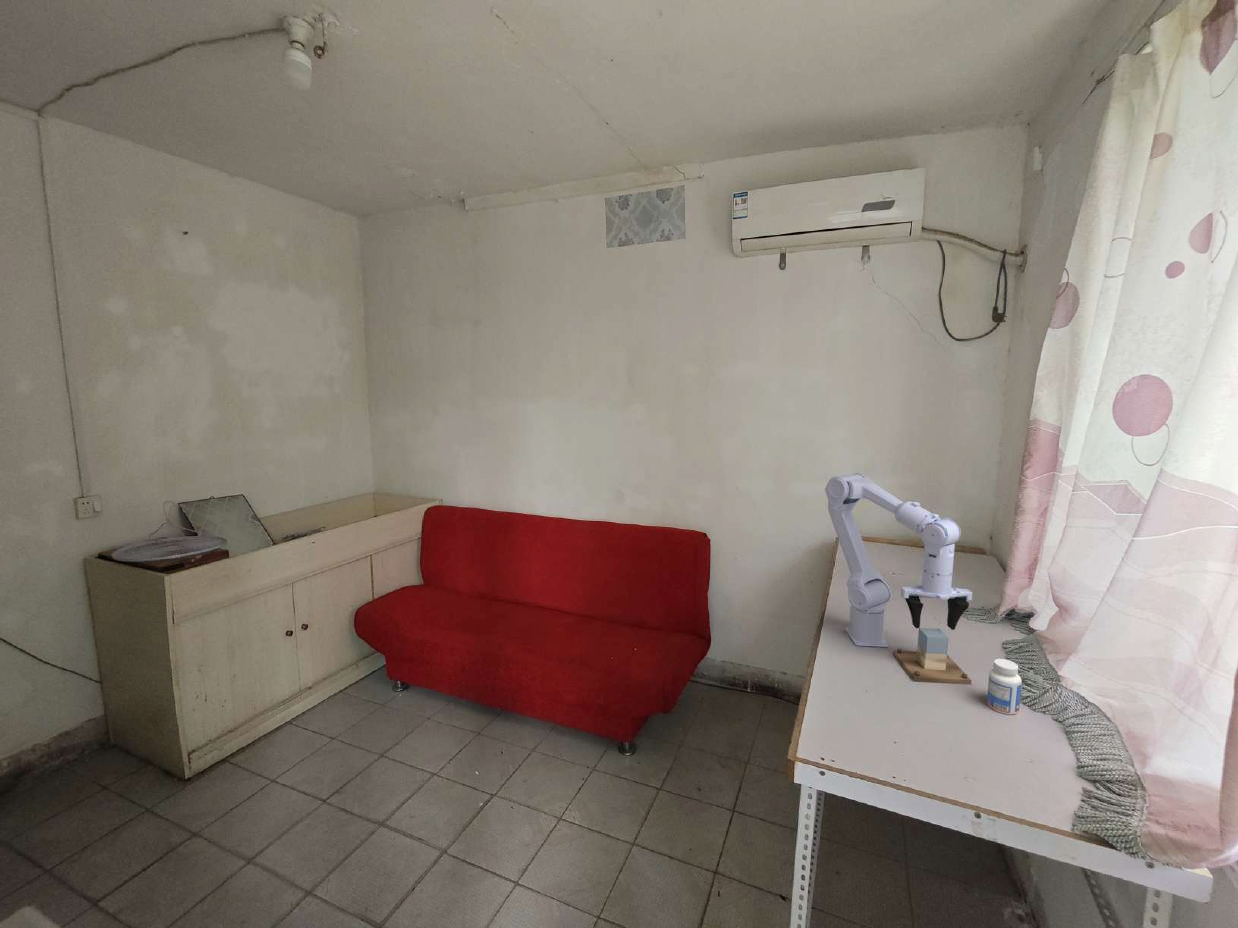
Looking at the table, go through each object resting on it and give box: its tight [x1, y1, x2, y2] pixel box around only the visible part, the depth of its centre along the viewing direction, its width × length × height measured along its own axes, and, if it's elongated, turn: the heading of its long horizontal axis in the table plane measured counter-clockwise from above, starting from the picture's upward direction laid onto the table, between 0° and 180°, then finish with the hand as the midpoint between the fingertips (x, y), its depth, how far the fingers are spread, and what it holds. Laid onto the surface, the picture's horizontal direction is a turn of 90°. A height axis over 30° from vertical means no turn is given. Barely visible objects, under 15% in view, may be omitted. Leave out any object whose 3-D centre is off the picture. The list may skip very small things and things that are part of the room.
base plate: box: [892, 648, 973, 685], centre depth 121 cm, size 12×12×2 cm
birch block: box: [916, 643, 948, 670], centre depth 121 cm, size 4×4×4 cm
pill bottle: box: [986, 658, 1023, 715], centre depth 106 cm, size 6×5×10 cm
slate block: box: [917, 627, 949, 655], centre depth 120 cm, size 4×4×4 cm
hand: (933, 627), depth 120 cm, fingers open, 7 cm apart
